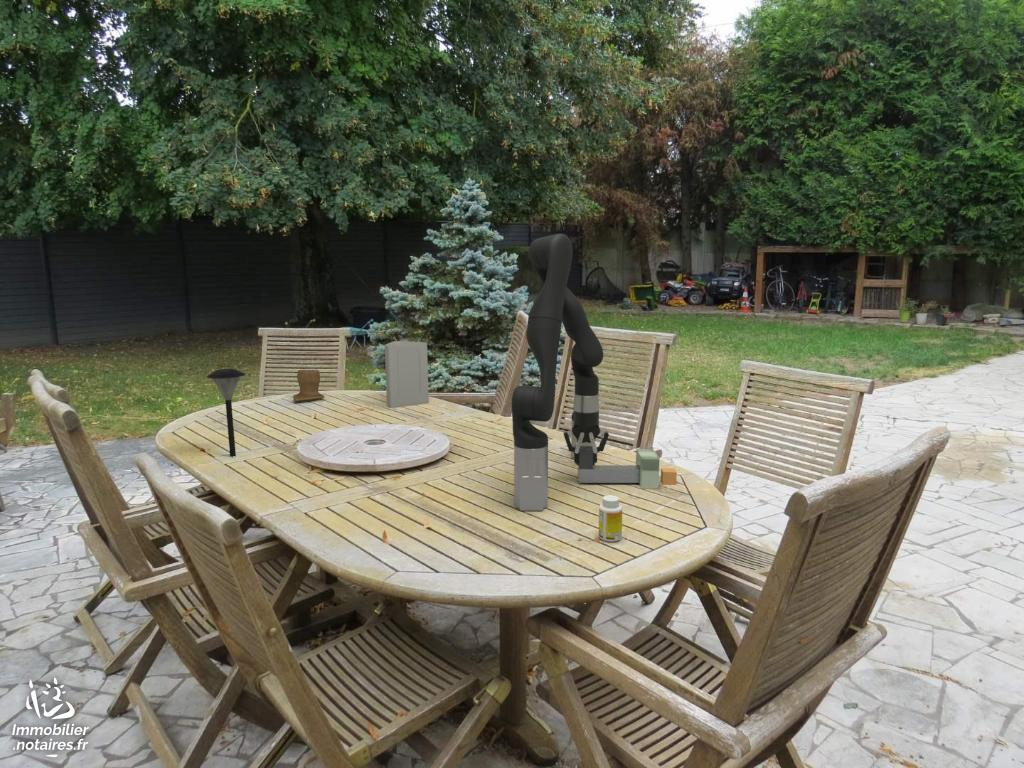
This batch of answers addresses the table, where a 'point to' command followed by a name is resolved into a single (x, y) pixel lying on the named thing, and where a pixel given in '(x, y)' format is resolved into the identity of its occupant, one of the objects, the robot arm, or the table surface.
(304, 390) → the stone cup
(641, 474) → the bearing bridge
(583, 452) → the grey l-shaped bracket
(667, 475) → the block
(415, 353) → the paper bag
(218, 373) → the solar garden light
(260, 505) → the table surface
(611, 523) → the supplement bottle
